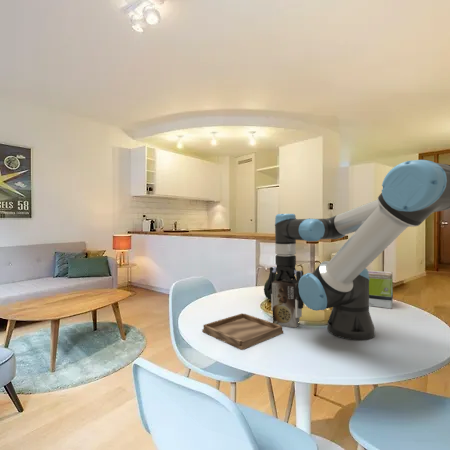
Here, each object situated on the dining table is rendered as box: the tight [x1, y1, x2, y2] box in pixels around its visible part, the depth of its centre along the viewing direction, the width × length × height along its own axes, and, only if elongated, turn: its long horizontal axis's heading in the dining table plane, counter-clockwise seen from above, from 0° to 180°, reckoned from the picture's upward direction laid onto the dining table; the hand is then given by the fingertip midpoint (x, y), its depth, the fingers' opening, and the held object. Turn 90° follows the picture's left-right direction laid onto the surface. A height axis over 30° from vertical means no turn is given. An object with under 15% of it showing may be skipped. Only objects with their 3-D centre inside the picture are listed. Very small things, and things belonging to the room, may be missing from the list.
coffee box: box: [272, 280, 301, 329], centre depth 113 cm, size 9×6×16 cm
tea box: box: [368, 270, 394, 309], centre depth 137 cm, size 15×10×15 cm
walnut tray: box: [201, 313, 284, 351], centre depth 105 cm, size 20×20×2 cm
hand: (286, 313), depth 113 cm, fingers closed on coffee box, 10 cm apart
